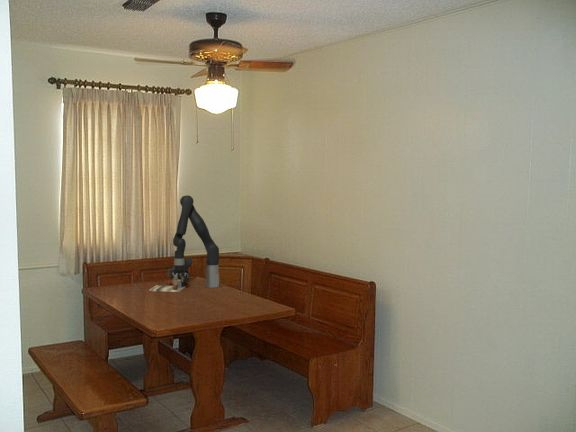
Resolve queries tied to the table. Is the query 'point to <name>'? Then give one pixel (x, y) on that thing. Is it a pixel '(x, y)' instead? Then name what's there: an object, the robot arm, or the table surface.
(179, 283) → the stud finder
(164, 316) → the table surface
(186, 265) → the gun
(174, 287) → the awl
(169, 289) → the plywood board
